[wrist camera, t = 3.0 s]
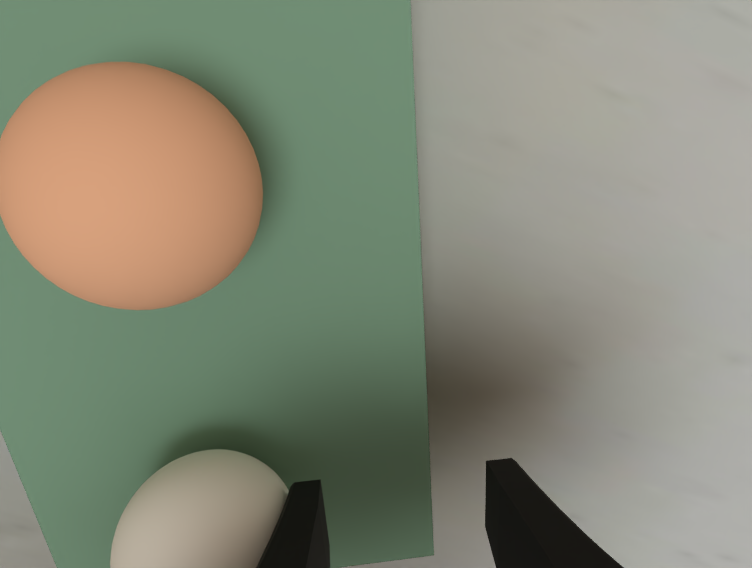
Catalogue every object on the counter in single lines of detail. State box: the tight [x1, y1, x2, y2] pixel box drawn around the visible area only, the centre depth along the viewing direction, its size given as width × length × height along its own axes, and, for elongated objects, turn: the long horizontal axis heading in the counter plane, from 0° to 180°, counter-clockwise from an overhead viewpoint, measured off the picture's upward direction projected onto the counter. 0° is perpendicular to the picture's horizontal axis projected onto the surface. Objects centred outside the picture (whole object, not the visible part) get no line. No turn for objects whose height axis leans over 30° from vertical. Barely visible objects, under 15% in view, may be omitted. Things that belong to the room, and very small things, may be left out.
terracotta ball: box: [0, 62, 263, 310], centre depth 9 cm, size 4×4×4 cm
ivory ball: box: [110, 449, 289, 568], centre depth 12 cm, size 4×4×4 cm
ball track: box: [0, 0, 434, 568], centre depth 13 cm, size 17×19×3 cm
